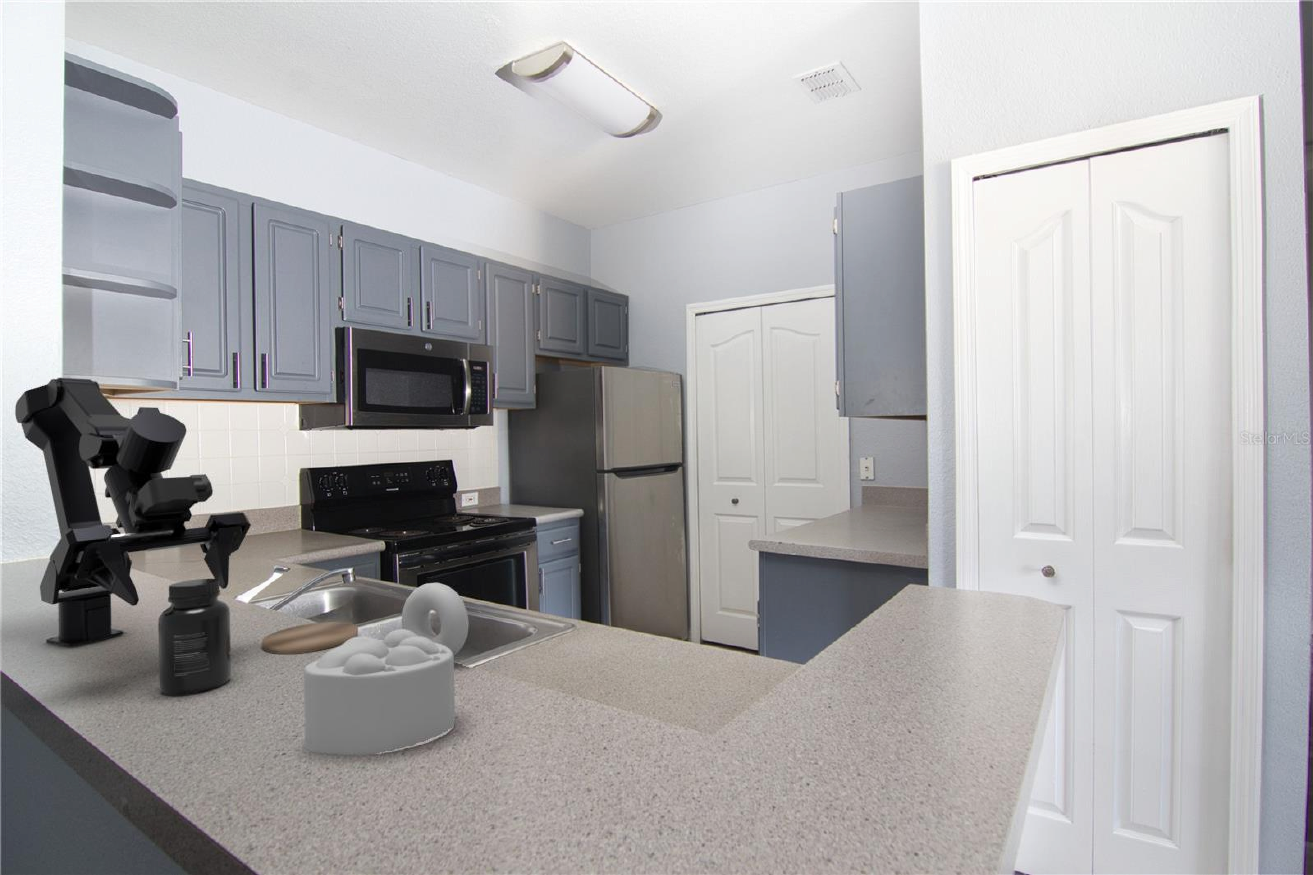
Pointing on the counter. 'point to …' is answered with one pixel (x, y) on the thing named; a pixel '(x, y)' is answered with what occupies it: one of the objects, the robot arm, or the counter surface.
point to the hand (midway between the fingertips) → (183, 594)
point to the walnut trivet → (309, 638)
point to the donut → (447, 610)
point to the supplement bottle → (194, 639)
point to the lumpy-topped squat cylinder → (378, 694)
